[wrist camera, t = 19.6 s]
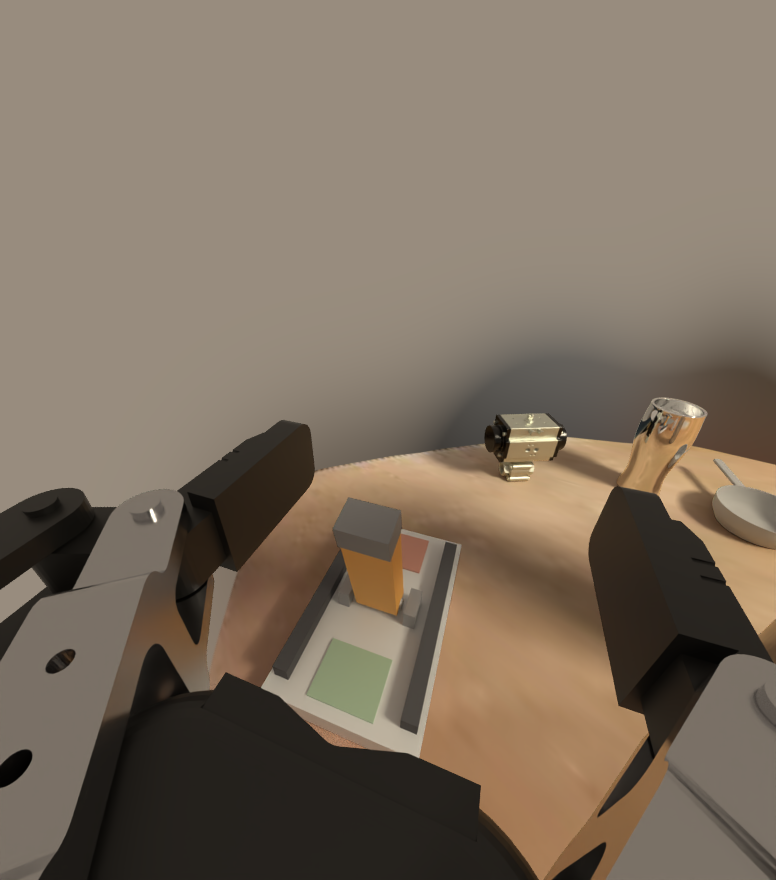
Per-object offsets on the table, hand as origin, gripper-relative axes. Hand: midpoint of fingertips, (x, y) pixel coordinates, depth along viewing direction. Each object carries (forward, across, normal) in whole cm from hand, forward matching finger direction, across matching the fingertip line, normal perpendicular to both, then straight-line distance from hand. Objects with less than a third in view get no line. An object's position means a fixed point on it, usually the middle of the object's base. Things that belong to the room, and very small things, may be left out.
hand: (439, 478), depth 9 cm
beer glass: (+48, -27, +30) cm, 63 cm away
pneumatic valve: (+44, -7, +30) cm, 54 cm away
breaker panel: (+13, +6, +30) cm, 33 cm away
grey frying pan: (+48, -40, +30) cm, 69 cm away
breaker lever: (+13, +6, +27) cm, 31 cm away
